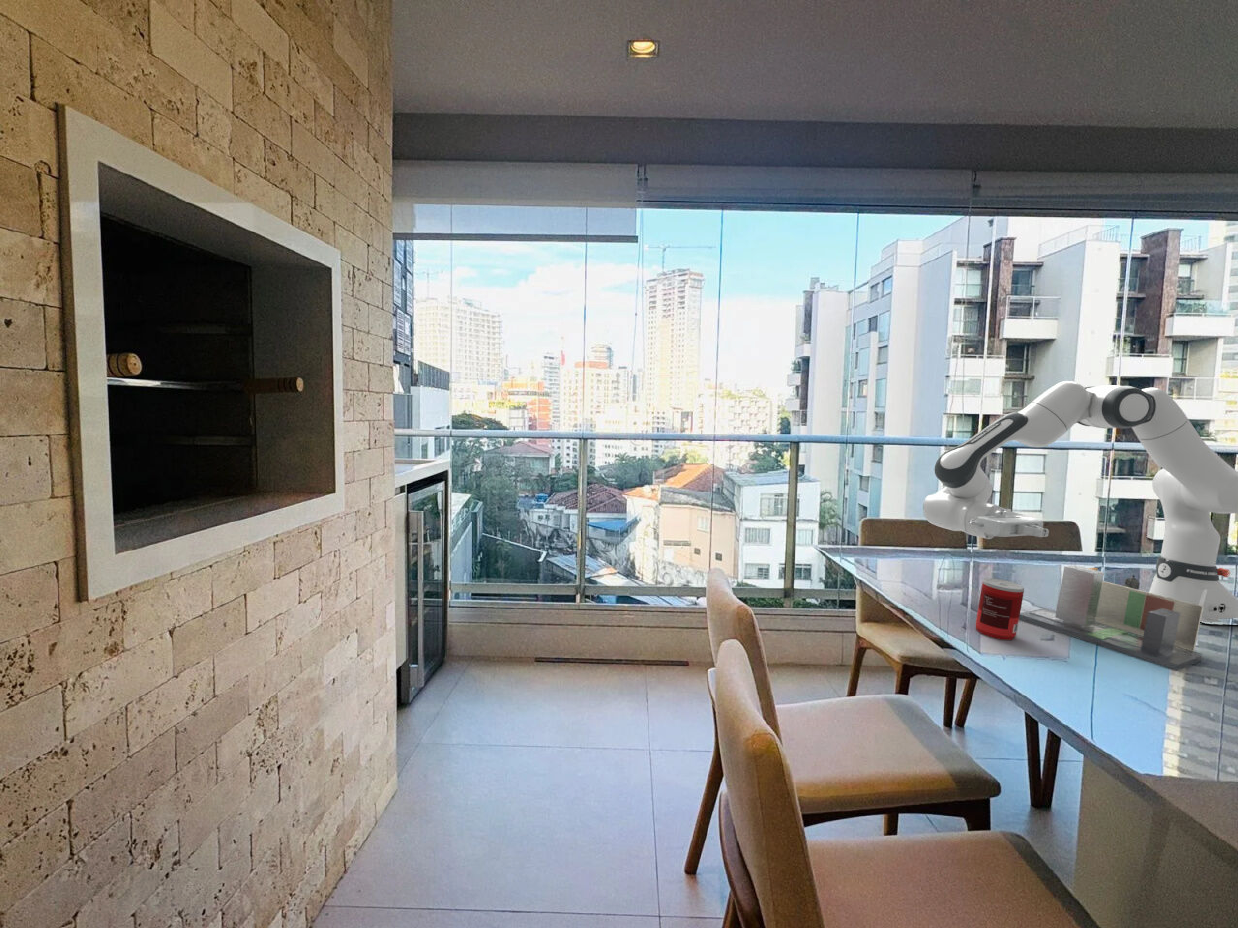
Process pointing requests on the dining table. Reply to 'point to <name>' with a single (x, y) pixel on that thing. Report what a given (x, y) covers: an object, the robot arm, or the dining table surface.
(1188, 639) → the base
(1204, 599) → the robot arm
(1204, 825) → the dining table surface
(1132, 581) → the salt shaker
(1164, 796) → the dining table surface
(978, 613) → the canned food
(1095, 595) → the brushed steel slab
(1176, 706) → the dining table surface
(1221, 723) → the dining table surface
